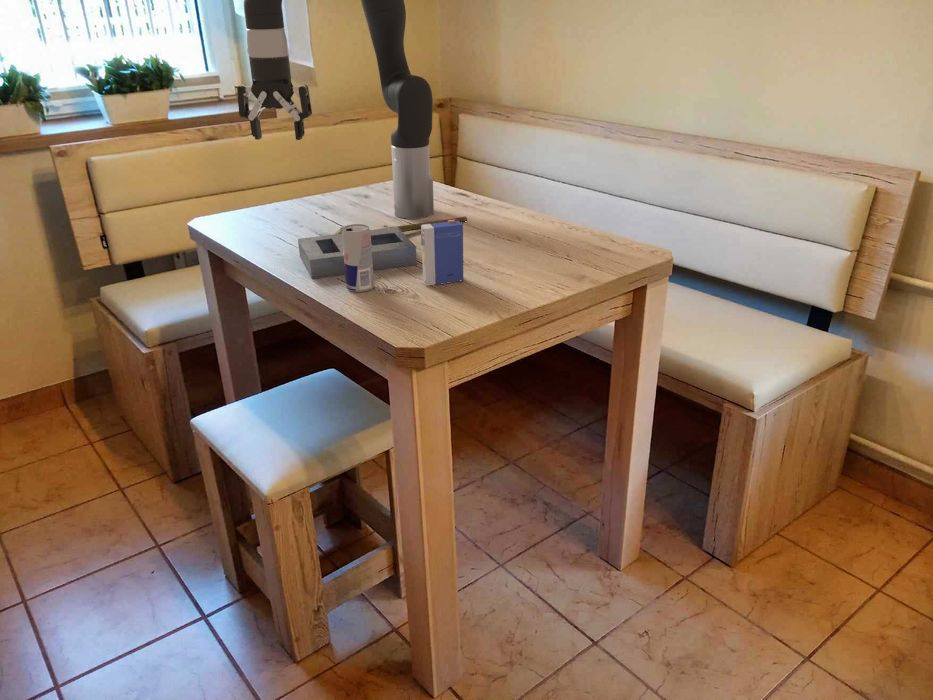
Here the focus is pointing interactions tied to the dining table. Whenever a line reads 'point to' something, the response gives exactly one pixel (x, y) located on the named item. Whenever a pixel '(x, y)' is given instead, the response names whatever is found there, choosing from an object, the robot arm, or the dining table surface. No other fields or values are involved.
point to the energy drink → (358, 257)
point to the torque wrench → (418, 225)
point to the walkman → (442, 252)
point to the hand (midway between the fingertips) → (278, 139)
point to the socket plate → (328, 255)
